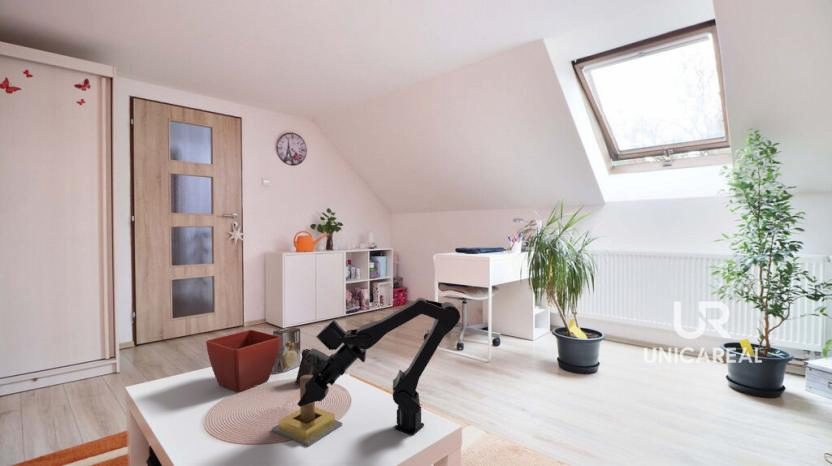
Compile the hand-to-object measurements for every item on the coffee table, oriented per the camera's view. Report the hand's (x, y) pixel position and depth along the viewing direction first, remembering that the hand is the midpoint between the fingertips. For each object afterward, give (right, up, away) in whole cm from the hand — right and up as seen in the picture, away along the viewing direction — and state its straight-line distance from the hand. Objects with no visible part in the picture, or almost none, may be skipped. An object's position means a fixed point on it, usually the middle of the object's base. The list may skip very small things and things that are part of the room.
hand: (304, 397), depth 112 cm
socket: (+1, -9, 0) cm, 9 cm away
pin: (+1, -8, 0) cm, 8 cm away
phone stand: (-7, -9, +34) cm, 36 cm away
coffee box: (-21, -8, +48) cm, 53 cm away
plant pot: (-32, -9, +32) cm, 46 cm away
